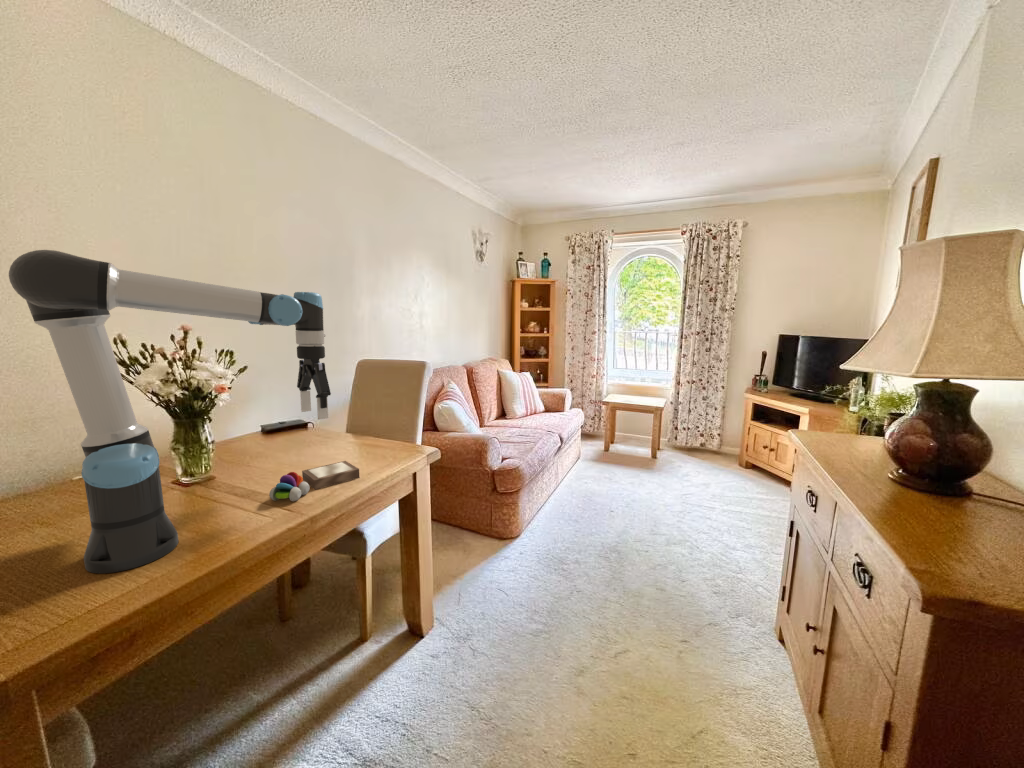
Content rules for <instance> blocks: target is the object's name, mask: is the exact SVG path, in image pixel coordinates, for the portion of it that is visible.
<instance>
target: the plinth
mask: <svg viewBox="0 0 1024 768" xmlns="http://www.w3.org/2000/svg"><path fill="white" fill-rule="evenodd" d="M301 473H302V475H301V476H302V478H303V482H307V483H308V484H309V487H311V488H313V489H314V490H319V489H323V488H327V487H330V486H333V485H338V484H342V483H345V482H349V481H353V480H357V479H360V468H358V467H356V466H355V465H354V464H352V463H349V462H348V461H346V460H343V461H339V462H338V461H337V462H333V463H329V464H325V465H321V466H317V467H313V468H308V469H305V470H301Z"/></svg>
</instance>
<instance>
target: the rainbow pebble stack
mask: <svg viewBox="0 0 1024 768" xmlns="http://www.w3.org/2000/svg"><path fill="white" fill-rule="evenodd" d="M310 487H311V486H310V485H309V484H308V483H307V482H305V481H304V480H303V477H302V475H300V474H298V473H296V472H295V471H290V472H288V473H287V474H284V475H282V476H281V477H280V479H279V482H278V483H277V484H276V485H275V486H274V487H272V488H271V490H270V491H269V498H270V499H271V500H272V501H279V500H280V499H288V498H289V500H290V501H291V502H296V501H299V500H300V498H301V496H305V495H307V494H308V493H309V491H310Z"/></svg>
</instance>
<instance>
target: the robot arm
mask: <svg viewBox="0 0 1024 768" xmlns="http://www.w3.org/2000/svg"><path fill="white" fill-rule="evenodd" d="M8 280H9V283H10V285H11V287H12V289H14V291H15V292H16V293H17V294H18V295H19V296H20V297H21V298H22V299H24V300H25V301H26V304H27V306H28V310H29V311H30V314H31V316H32V319H33V322H34V324H36V325H38V326H41V327H42V328H45V329H46V330H48V332H49V335H50V338H51V340H52V343H53V345H54V349H55V351H56V354H57V356H58V359H59V362H60V365H61V367H62V370H63V373H64V375H65V378H66V381H67V385H68V386H69V390H70V392H71V395H72V397H73V400H74V402H75V405H76V407H77V410H78V413H79V415H80V418H81V421H82V424H83V426H84V429H85V432H86V436H85V438H84V439H83V440H82V441H81V443H80V447H81V448H82V452H83V454H84V459H83V461H82V469H81V478H82V480H83V483H84V487H85V494H86V500H87V507H88V512H89V513H88V514H89V520H90V526H91V531H90V535H89V538H88V541H87V545H86V549H85V551H84V554H83V555H84V556H83V562H84V563H83V564H84V569H85V570H86V571H87V572H89V573H92V574H112V573H118V572H123V571H126V570H127V571H128V570H131V569H135V568H138V567H141V566H144V565H146V564H149V563H151V562H153V561H154V562H155V561H156V560H158V559H160V558H163V557H164V556H165V555H168V554H169V553H171V552H172V551H173V550H174V549H175V548H176V547H177V546H178V544H179V533H178V531H177V529H176V528H175V525H174V524H173V522H172V521H171V520H170V518H169V515H168V514H167V513H166V510H165V504H164V496H163V488H162V481H161V471H160V456H159V455H160V454H159V452H158V449H157V448H156V447H155V444H154V443H153V439H152V436H151V434H150V431H149V428H148V427H147V426H144V425H143V424H139V423H138V421H137V419H136V416H135V412H134V409H133V407H132V403H131V401H130V398H129V395H128V392H127V388H126V386H125V383H124V380H123V377H122V374H121V370H120V368H119V365H118V362H117V360H116V355H115V353H114V351H113V347H112V344H111V341H110V339H109V335H108V332H107V329H106V326H105V324H106V322H107V321H108V319H110V317H111V314H110V311H112V310H113V309H115V308H118V307H119V308H126V309H127V308H128V309H136V310H137V309H138V310H143V311H144V310H145V311H146V310H147V311H155V312H165V313H170V314H180V315H181V314H182V315H189V316H197V317H198V316H199V317H208V318H217V319H225V320H234V321H235V320H236V321H243V322H248V323H249V324H251V325H260V326H263V325H269V326H283V327H289V326H293V325H295V344H296V345H297V347H296V356H297V359H299V361H298V363H299V365H298V366H299V368H298V375H297V384H296V387H297V389H298V390H299V393H300V395H299V396H300V411H301V413H306V412H311V411H312V402H311V390H312V389H311V382H313V385H314V387H315V391H316V395H315V398H316V408H317V420H325V419H329V408H328V407H329V404H328V397H329V396H331V394H332V393H331V389H330V385H329V380H328V376H327V372H326V364H325V362H320V360H321V359H324V358H325V357H326V351H325V350H326V349H325V346H324V344H325V337H326V334H325V331H324V306H323V305H324V304H323V298H322V295H321V294H320V293H318V292H312V291H311V292H309V291H295V292H294V293H293V296H291V295H289V294H283V293H282V294H274V293H268V292H261V291H256V290H250V289H244V288H237V287H231V286H227V285H226V286H224V285H219V284H214V283H213V284H212V283H206V282H199V281H195V280H186V279H181V278H175V277H168V276H164V275H163V276H162V275H156V274H150V273H143V272H136V271H132V270H124V269H119V268H118V267H117V266H115V265H114V264H113V263H111V262H108V261H103V260H102V261H101V260H94V259H90V258H86V257H83V256H78V255H75V254H74V255H73V254H70V253H68V252H64V251H59V250H52V249H37V250H36V249H35V250H32V251H28V252H26V253H23V254H21V255H19V256H18V257H17V258H16V259H14V260H13V262H12V263H11V265H10V267H9V270H8Z"/></svg>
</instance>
